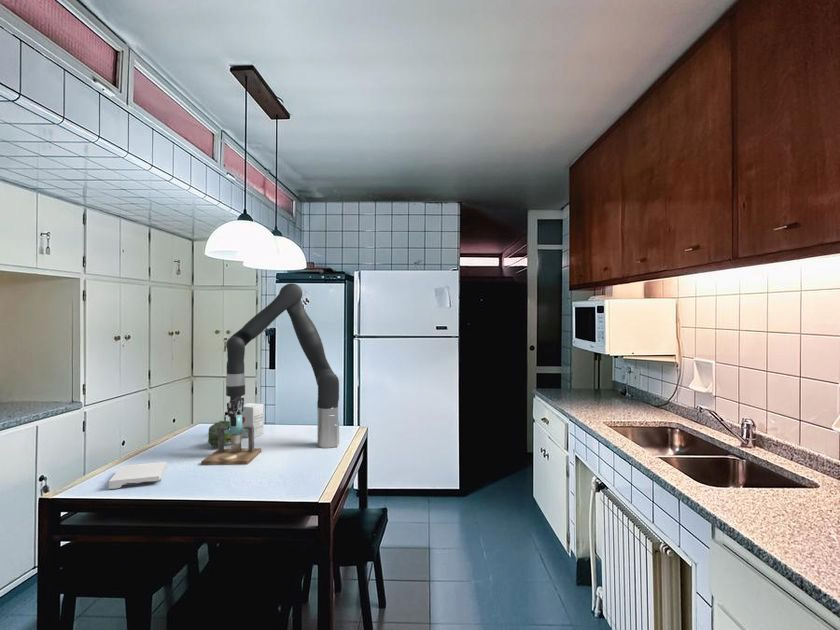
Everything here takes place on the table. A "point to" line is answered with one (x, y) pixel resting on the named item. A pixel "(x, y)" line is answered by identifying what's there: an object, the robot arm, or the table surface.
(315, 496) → the table surface
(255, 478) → the table surface
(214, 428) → the vegetable
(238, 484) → the table surface
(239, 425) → the teal rounded body
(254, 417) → the supplement box
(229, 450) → the board with gray uprights
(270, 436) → the table surface
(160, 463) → the food packaging
